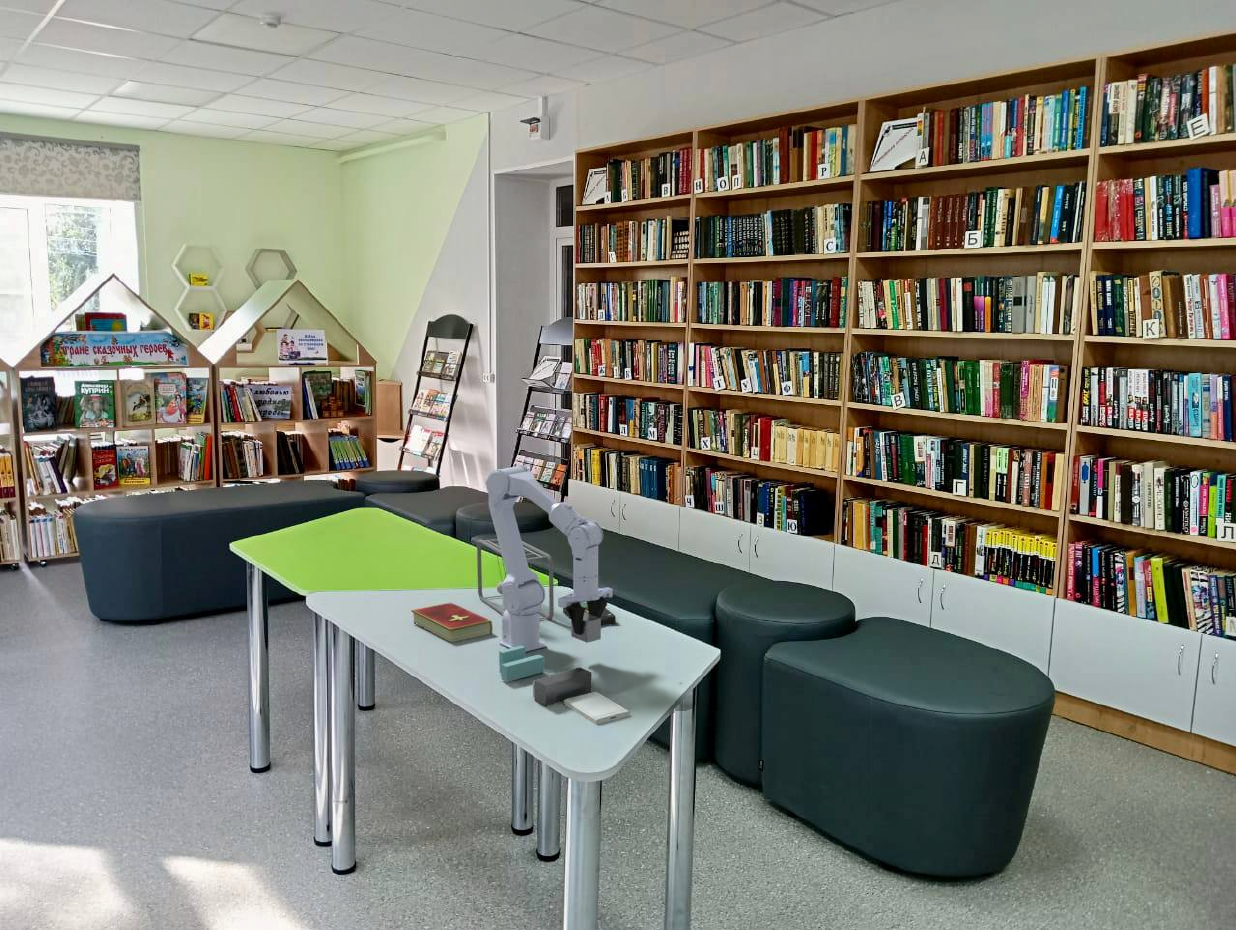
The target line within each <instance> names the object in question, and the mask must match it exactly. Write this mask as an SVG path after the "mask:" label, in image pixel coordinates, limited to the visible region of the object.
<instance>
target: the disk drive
mask: <svg viewBox="0 0 1236 930" xmlns="http://www.w3.org/2000/svg"><path fill="white" fill-rule="evenodd" d="M580 605H581V606H582V607H584V608H586V609H585V613H588V614H589V611H588V606H587V602H583V603H580ZM562 613H563V614H564V616H566V618H567V619H569V620H570V616H569V614H568V612H567V610H566V609H565V608H562ZM616 620H617V617H616V615H615V614H614V613H613V612H611V611H610V610H609V609H607V608H606V607H605V609H604V611H603V613H602V616H601V626H610V625H609V624H611V625H616V623H617V621H616Z"/></svg>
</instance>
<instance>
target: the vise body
mask: <svg viewBox="0 0 1236 930" xmlns="http://www.w3.org/2000/svg"><path fill="white" fill-rule="evenodd" d="M592 687H593V685H592V671H589V670H588V669H585V668H582V666H581V667H576V668H573V669H569V670H565V671H561V672H558V673H555V674H554V673H553V674H551V675H548V676H545V677H541V678H537V679H534V680H532V697H533V698H534V702H536V703H538V704H539V705H542V706H544V707H548V706H552V705H555V703H556V704H558V703H561V702H564V700H565V699H568V698H572V697H577V696H580V695H584V694H588V693H592V690H593V689H592Z"/></svg>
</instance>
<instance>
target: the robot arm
mask: <svg viewBox="0 0 1236 930" xmlns="http://www.w3.org/2000/svg"><path fill="white" fill-rule="evenodd" d="M485 486H486V491H487V494H488V510H489V513H490V516H491V520H492V523H493V527H494V531H495V533H496V537H497V538H496V539H498V540H497V542H498V546H499V547H500V548H499V549H500V550H501V553H502V556H501V558H503V561H502V562H503V563H504V568H505V573H506V577H504V580H503V581H504V582H503V583H502V590H503V594H502V595H503V596H502V599H501V600H502V604H503V606H504V608H505V610H504V614H503V615H502V617H501V634H502V635H501V636H502V638H501V639H502V640H501V641H499V644H500V645H501V646H503V647H507V649H510V648H514V647H518V646H524V647H525V653H527V652H530V651H534V650H538V649H542V648H545V647H547V646H548V644H546V643H545V642H542V641H541V640H540V620H539V618H540V614H539V609H540V610H542V607H541V606H542V604H543V603H544V602H545V600H546V589H545V587H544V585H543V584H542V583H541V581H540V579H539V574H537V573H536V572H534V571H533V570H532V569H531V570H530V568H529V567H530V566H529V564H528V560H527V559H526V555H525V554H526V553H525V552H526V551H525V549H524V548H525V547H524V546H523V544H522V541H523V540H522V537H521V533H520V530H519V525H518V523H517V522H518V521H517V519H516V516H515V511H514V505H515V504H516V502H517V500H518V499H519V498H520V497H521V496H525V497H526V498H528V500H530V501H531V502H533V503H534V504H535V505H536V506H538V507H539V508H541V509H542V510H543V511H545V512H546V513H547V514H548V520H549V522H550V523H551V524H552V525H553V526H555V527H556V528H557V529H558V530H559V531H560V532H561V533H562V534H564V536H566V537H567V543H568V545H569V546H570V548H571V554H572V556H573V559H572V560H573V561H572V562H573V565H572V566H573V567H572V568H573V572H572V573H573V575H572V577H573V581H572V582H573V583H572V584H573V587H572V588H573V589H572V590H573V592H570V593H568V594H566V595H564V596H562V597H561V596H560V597H558V598H557V605H558V607H560V608H561V609H563V608H565V609H566V610H567V612H568V614H569V616H570V619H571V620H570V619H569V620H570V622H572V625H573V629H574V633H576V634H578V635H582V630H583V617H584V612H585V609H586V608H584V607H582V606H581V605H580V603H587V606H588V611H589V614H590V615H593V616H596V617H598V618H601V616H602V613H603V611H604V609H605V608H606V607H608V600H606V599H605V598H612V597H613V591H614V589H613V588H611V587H607V586H606V587H602V588H600V587H599V545H600V544H601V543H602V542H603V540H604V532H603V528H602V527H601V526H600V525H599V523H598V521H594V520H588V519H587V518H586V517H585V516H582V515H581V514H580V513H579V512H577V510H576V509H574V508H573V505H572V504H571V503H570V502H569V503H567V502H565V501H564V502H563V501H562V502H558V501H557V499H555V498H554V496H553V495H551V493H549V492H548V490H546V488H545V487H543V486H542V485H541V484H540V483H539V481H538V480H536V477H535V474H534V472H532V471H531V470H529V469H528V468H527V467H526V466H525V465H516V466H512V467H506V468H501V469H499V468H497V469H493V470H492V471H490V473H489V474H488V477H487V478H486V480H485ZM523 547H524V548H523ZM521 583H522V584H521ZM519 584H521V585H519Z"/></svg>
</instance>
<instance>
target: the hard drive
mask: <svg viewBox="0 0 1236 930" xmlns="http://www.w3.org/2000/svg"><path fill="white" fill-rule="evenodd" d="M564 704H565V707H568V708H569V709H571V710H573V711H574V712H575V713H577V714H579V715H580V716H581V717H584V718H585V719H587V720H588V721H589V722H591V723H593V724H595V725H600V724H604V723H607V722H611V721H615V720H618V719H621V718H626V717H629V716H631V711H630V710H628V709H626V708H624V707H623V706H621V705H619V704H618V703H616V702H614V701H613V700H611V699H609V698H607V697H605V696H604V695H602V694H600V692H597V691H593V692H592V693H588V694H584V695H580V696H577V697H572V698H568V699H565V700H564V701H563V705H564Z"/></svg>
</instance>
